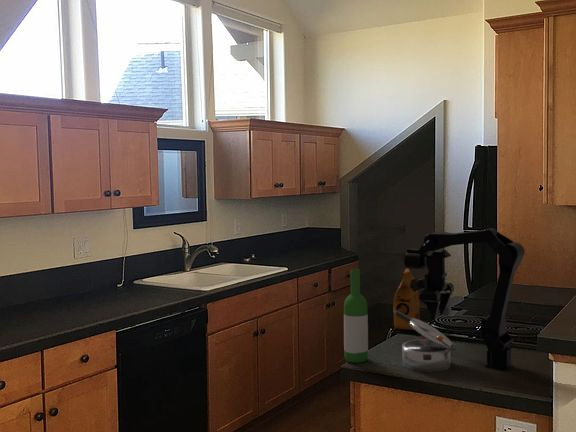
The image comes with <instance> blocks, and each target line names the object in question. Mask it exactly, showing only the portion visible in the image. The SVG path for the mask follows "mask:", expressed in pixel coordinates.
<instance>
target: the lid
mask: <svg viewBox="0 0 576 432" xmlns="http://www.w3.org/2000/svg"><path fill="white" fill-rule="evenodd" d="M395 315H396V316H398V317H400V318H401V319H403V320H405V321H406V322H408V323H409V325H410V326H411V327H412V328H413V329H414V330H413V331H415V332H417V333H418V334H419V335H420V336H421V337H422V336H423V337H425V338H426V339H428V340H430V341H431V342H433V343H435V344H437V345H439V346H442V347H445V348H450V349H451V350H452V351H455V350H456V349H457V348H456V345H455V342H454V341H451V339H449V338H448V337H447V336H446V335H445V334H443V332H441V331H439V330H438V329H437V328H435V327H434V326H432V325H430V324H428V323H426V322H425V321H423V320H421V319H419V320H418V319H415V318H410V317H408V316H406V315H405V314H403V313H401V312H399V311H398V310H397V311H396V312H395Z"/></svg>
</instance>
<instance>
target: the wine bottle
mask: <svg viewBox="0 0 576 432" xmlns="http://www.w3.org/2000/svg"><path fill="white" fill-rule="evenodd" d="M360 273H361V270H360V269H359V268H353V269H350V294H348V296H347V297H346V298H345V300H344V302H343V347H344V348H343V349H344V350H343V351H344V353H343V356H344V359H345V360H346V362H348V363H353V364H359V363H364V362H367V360H368V359H369V323H368V322H369V321H368V319H369V318H368V316H369V315H368V310H369V309H368V302H367V300H366V298H365V297H364V296H363V295H362V294H361V274H360Z"/></svg>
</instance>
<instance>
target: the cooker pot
mask: <svg viewBox="0 0 576 432" xmlns="http://www.w3.org/2000/svg"><path fill="white" fill-rule="evenodd" d="M401 351H402V352H401V353H402V354H401V356H402V357H401V358H402V359H401V361H402V364H403V365H402V366H403V367H404V366H405V367H404V368H406V367H407V369H408V368H409V369H408V370H411V371H414V370H415V372H420V371H423V372H422V373H437V371H439V372H443V371H446V369H447V370H448V369H450V368H451V347H450V348H445V347H442V346H439V345H437V344H435V343H433V342H431V341H430V340H428V339H422V338H421V339H412V340H408V341H407V340H406V341H405V342H402V344H401ZM416 370H417V371H416ZM433 371H435V372H433Z"/></svg>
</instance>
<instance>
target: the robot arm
mask: <svg viewBox="0 0 576 432" xmlns="http://www.w3.org/2000/svg"><path fill="white" fill-rule="evenodd" d="M479 243H486V244H487V245H488V246H489V247H490V248H491V250H492V251H493V252H494V253H496V254H497V255H498V267H499V273H498V278H497V282H496V287H495V291H494V295H493V300H492V304H491V310H490V313H489V314H487V315H485V316H484V317H482V319H481V326H480V328H479V330H478V331H479V332H480V336H481V339H482V340H483V342H484V343H485V346H486V349H487V350H486V364H485V367H486V368H490V369H495V370H498V371H507V370H509V369H511V368H512V367H514V364H513V363H512V347H511V346H512V345H513V342H514V338H513V337H512V336H511V335H510V334H509V333H508V332H507V319H506V312H507V309H508V305H509V300H510V297H511V292H512V287H513V283H514V278H515V274H516V272H517V270H518V268H519V267H520V265H521V263H522V261H523V259H524V256H525V254H526V253H525V248H524V246H523V245H522V244H521V243H519V242H515V241H513V240H512V239H511V238H509V237H507V236H505V235H503V234H502V233H500V232H499V231H498V230H497V229H495V228H492V227H491V228H487V229H481V230H480V229H479V230H472V231H465V232H464V231H463V232H455V233H454V232H447V231H436V232H432V233H428V234H426V235H425V236H424V239H423V244H422V245H421V246H420V247H419V249H417V248H407V249H406V253H405V255H404V259H403V264H404V267H405V269H409V270H421V271H422V270H424V269H425V268H426V273H425V274H424V277H423V278H420V279H418V278H417V277H415V279H413V280H411V283H410V288H412V290H413V292H415V291H417V290H418V291H419V290H420V291H419V292H418V298H419V302H421V303H423V305H425V307H426V309H427V311H428V315H429V318H430V320H431V321H435V320H436V318H437V314H438V311H439V315H444V313H445V311H446V308H447V307H448V304H449V302H450V300H451V297H452V295H453V292H454V291H455V286H454V284H453V283H452V282H446V277H447V276H448V273H447V272H446V266H445V265H446V263H445V261H446V260H445V259H446V258H451V257H452V254H450V253H449V252H448V250H446V249H445V248H448V247H452V246H458V245H468V244H479ZM441 249H442V250H441ZM443 249H444V250H443ZM438 250H441V251H438ZM421 290H422V291H421Z"/></svg>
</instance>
